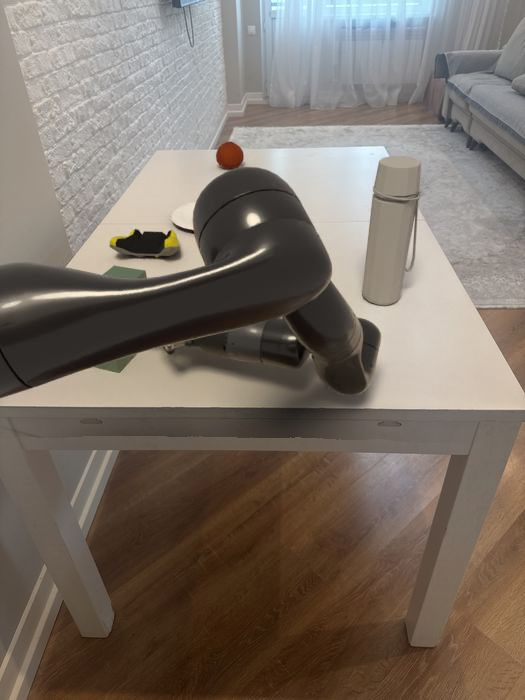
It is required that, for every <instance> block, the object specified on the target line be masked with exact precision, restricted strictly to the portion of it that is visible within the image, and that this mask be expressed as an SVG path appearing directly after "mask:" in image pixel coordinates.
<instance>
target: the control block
mask: <svg viewBox="0 0 525 700" xmlns="http://www.w3.org/2000/svg"><path fill="white" fill-rule="evenodd" d="M102 275H106V276H112V277H117V278H132V279H137V278H148V276H147V271H146V270H145V269H138V268H131V267H126V266H120V265H112V266H111V267H110V268H109V269H107V270H106V271H105V272H104V273H102ZM136 355H137V354H134V355H131V356H127V357H124V358H121V359H117V360H114V361H111V362H108V363H105V364H101V365H98V366H95V367H94V368H97V369H100V370H101V369H102V370H105V371H109V372H114V373H118V374H120V373H121V372H122V371H123V369H124V368H125V367H127V365H128V364H129V363H130V362H131V361H132V360H133V359H134V358H135V357H136Z"/></svg>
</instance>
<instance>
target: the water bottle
mask: <svg viewBox="0 0 525 700" xmlns="http://www.w3.org/2000/svg"><path fill="white" fill-rule="evenodd" d="M421 170H422V162H421V160H419V159H417V158H415V157H412V156H404V155H390V156H385V157H382V158H381V159H379V160H378V164H377V169H376V174H375V179H374V183H373V186H372V192H373V194H372V198H371V207H370V215H369V223H368V224H369V225H368V233H367V243H366V252H365V253H366V254H365V262H364V269H363V281H362V289H361V292H362V296H363V298H364V299H365V300H366V301H367V302H369V303H371V304H374V305H377V306H388V305H392V304H395V303H396V302H397V301H399V299H400V298H401V296H402V291H403V284H404V278H405V272H406V273H409V272H412V269H413V267H414V265H415V260H416V249H417V248H416V245H417V230H418V215H419V213H418V212H419V200H420V199H421V197H423V191H422V190H421V189H420V186H421V173H422V172H421ZM412 233H413V243H412V246H413V247H412V257H411V261H410V265H409V267H408V268H406V266H407V260H408V255H409V251H410V250H409V249H410V244H411V238H412Z"/></svg>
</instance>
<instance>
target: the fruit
mask: <svg viewBox="0 0 525 700" xmlns="http://www.w3.org/2000/svg"><path fill="white" fill-rule="evenodd" d="M216 150H217V151H216V153H215V160H216V162H217V163H218V165H219V166H221V167H222V168H224V169H228V170H232V169H236V168H239V167H240V166H241V165H242V164H243V162H244V158H245V157H244V151H243V149H242V147H241V146H240V145H239V144H237V143H235V142H234V141H225V142H223V143H222V144H220V145H219V147H218V148H217V149H216Z"/></svg>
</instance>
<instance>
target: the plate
mask: <svg viewBox="0 0 525 700" xmlns="http://www.w3.org/2000/svg"><path fill="white" fill-rule="evenodd" d="M195 204H196V200H193V201H191V202H188V203H185V204H183V205H181V206H178V207H177V208H176V209H174V211H173V212H172V213H171V215H170V219H171V222H172V223H173V224H174V225H175V226H177V227H179V228H181V229H184V230H187V231H191V232H194V229H193V210H194V207H195Z"/></svg>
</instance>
